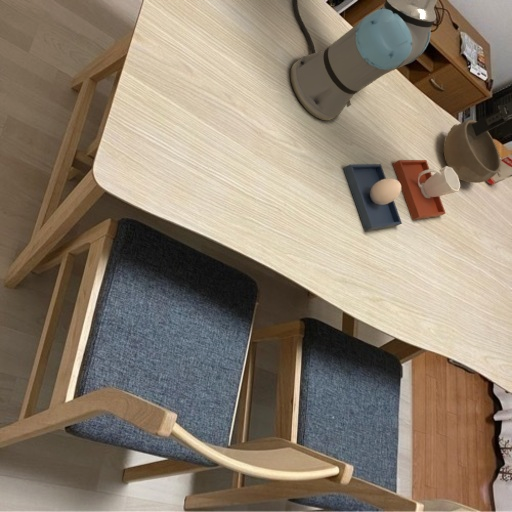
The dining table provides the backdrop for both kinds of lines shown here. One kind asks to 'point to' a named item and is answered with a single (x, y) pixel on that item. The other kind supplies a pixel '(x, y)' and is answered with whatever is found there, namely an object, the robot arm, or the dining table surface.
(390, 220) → the blue tray
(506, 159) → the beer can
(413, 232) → the dining table surface
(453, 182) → the cup
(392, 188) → the egg
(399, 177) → the terracotta tray
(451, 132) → the bowl
